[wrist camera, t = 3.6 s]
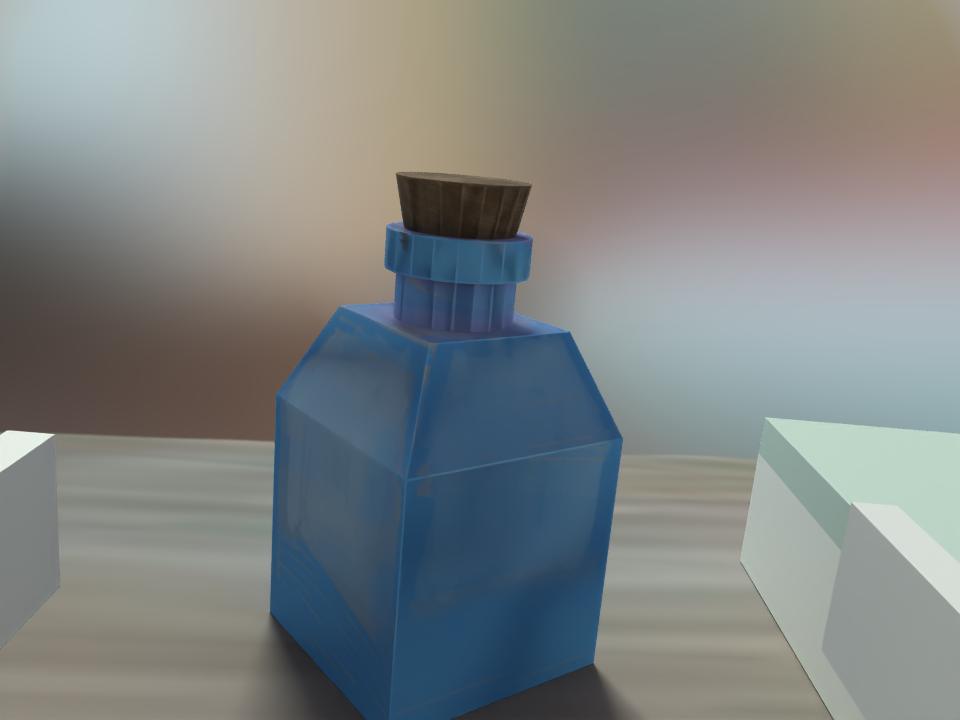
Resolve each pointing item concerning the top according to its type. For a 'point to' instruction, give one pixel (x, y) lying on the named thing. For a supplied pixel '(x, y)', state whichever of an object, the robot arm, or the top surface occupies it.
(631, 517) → the top surface
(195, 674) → the top surface
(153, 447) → the top surface
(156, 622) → the top surface
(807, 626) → the mint green square block
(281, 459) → the perfume bottle
